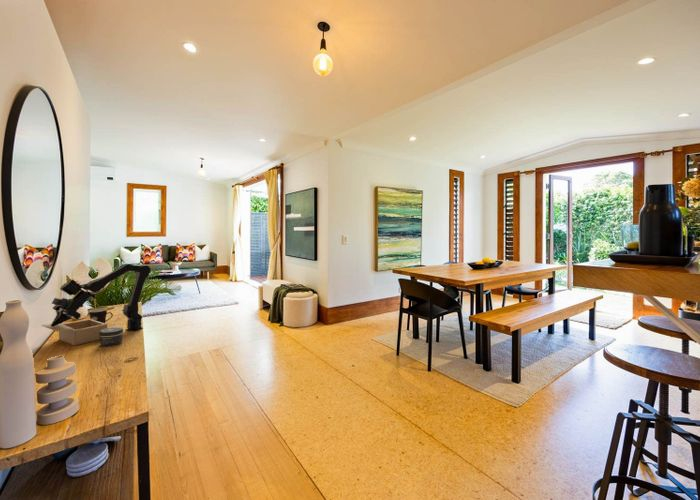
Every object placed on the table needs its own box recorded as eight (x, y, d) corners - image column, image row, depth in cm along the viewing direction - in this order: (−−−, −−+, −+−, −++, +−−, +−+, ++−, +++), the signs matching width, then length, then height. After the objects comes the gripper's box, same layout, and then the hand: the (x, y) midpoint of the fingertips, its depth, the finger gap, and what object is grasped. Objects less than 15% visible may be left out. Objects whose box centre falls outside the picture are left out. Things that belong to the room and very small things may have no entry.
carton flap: (58, 323, 167) (41, 324, 161) (73, 328, 159) (56, 330, 153) (58, 324, 167) (41, 325, 161) (73, 329, 159) (56, 331, 153)
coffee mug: (85, 327, 189) (85, 311, 189) (100, 323, 198) (100, 308, 197) (99, 329, 186) (99, 313, 186) (114, 325, 194) (114, 310, 194)
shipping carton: (91, 332, 181) (91, 318, 180) (107, 338, 171) (107, 324, 171) (58, 339, 168) (58, 324, 167) (74, 346, 159) (74, 330, 158)
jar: (118, 346, 160) (118, 331, 160) (95, 348, 157) (95, 333, 157) (126, 340, 170) (126, 326, 169) (104, 341, 166) (104, 327, 166)
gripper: (57, 289, 166) (28, 314, 157) (72, 293, 157) (43, 320, 148) (75, 301, 174) (50, 326, 164) (91, 306, 165) (65, 332, 155)
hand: (51, 326), depth 158 cm, fingers closed
